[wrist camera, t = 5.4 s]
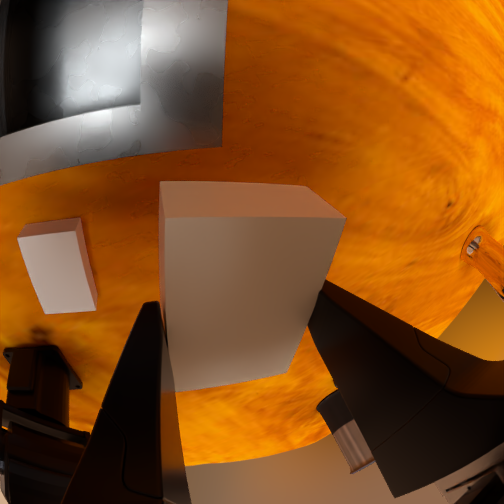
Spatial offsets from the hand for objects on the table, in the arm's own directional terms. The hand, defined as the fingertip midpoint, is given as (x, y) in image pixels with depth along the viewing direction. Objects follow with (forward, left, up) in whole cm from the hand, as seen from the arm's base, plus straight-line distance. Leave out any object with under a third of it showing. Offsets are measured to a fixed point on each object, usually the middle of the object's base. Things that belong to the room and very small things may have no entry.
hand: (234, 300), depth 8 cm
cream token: (0, 0, -1) cm, 1 cm away
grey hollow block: (+9, +5, -10) cm, 14 cm away
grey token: (-4, +9, -11) cm, 14 cm away
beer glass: (-10, -39, -10) cm, 42 cm away
